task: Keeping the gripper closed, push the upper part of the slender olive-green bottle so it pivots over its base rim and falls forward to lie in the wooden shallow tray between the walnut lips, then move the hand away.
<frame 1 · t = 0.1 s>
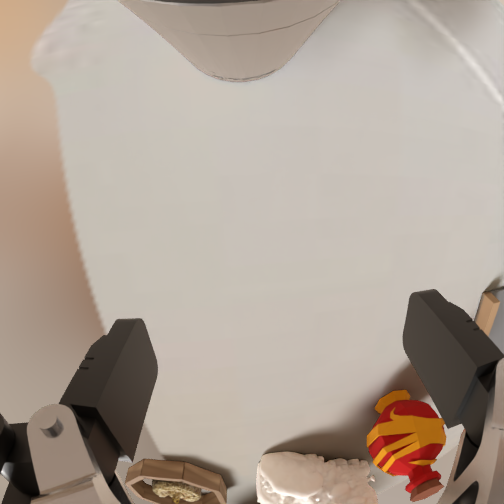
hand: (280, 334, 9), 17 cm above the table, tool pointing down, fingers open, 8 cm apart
white lumpy branched piece: (313, 465, 43), on the table
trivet: (177, 480, 45), on the table
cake: (178, 478, 46), on the table
potion bottle: (391, 401, 36), on the table
wooden shallow tray: (496, 340, 33), on the table
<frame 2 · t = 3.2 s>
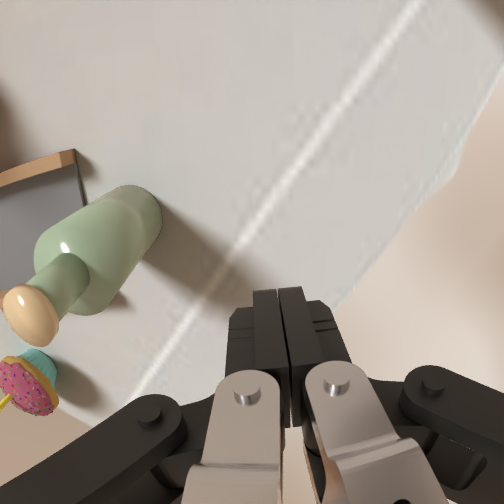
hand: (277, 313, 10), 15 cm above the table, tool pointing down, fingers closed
cupcake: (42, 362, 31), on the table
bottle: (130, 217, 24), on the table
wooden shallow tray: (19, 237, 25), on the table
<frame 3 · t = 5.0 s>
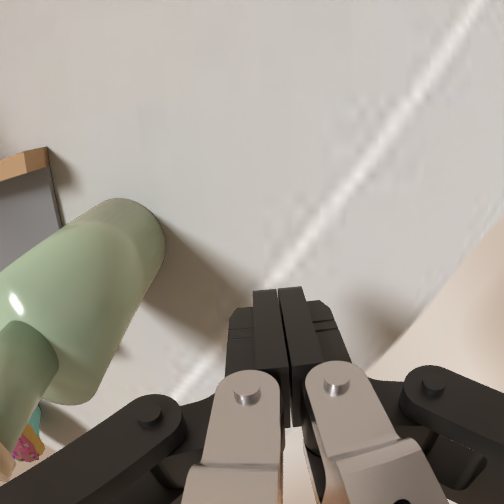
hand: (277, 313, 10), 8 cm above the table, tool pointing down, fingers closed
cupcake: (24, 400, 24), on the table
bottle: (122, 243, 18), on the table
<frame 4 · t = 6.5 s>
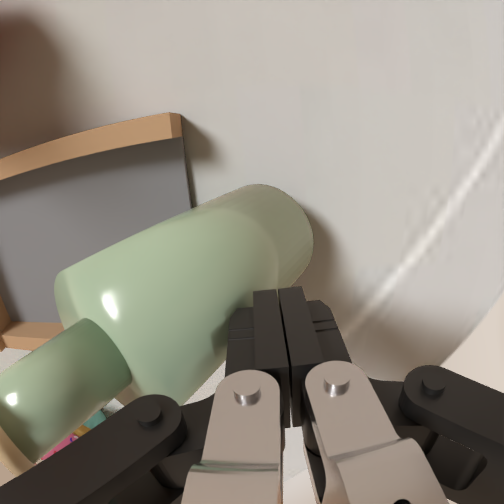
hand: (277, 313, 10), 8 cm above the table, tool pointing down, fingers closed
cupcake: (85, 409, 24), on the table
bottle: (262, 236, 16), point 1 cm above the table, tilted 30°
wooden shallow tray: (62, 248, 18), on the table
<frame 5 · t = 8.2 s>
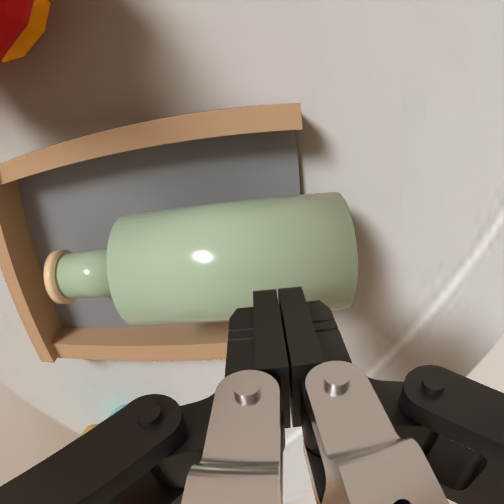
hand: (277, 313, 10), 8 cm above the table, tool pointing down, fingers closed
bottle: (340, 250, 15), point 3 cm above the table, tilted 90°, touching wooden shallow tray
potion bottle: (22, 24, 12), on the table
wooden shallow tray: (141, 244, 18), on the table
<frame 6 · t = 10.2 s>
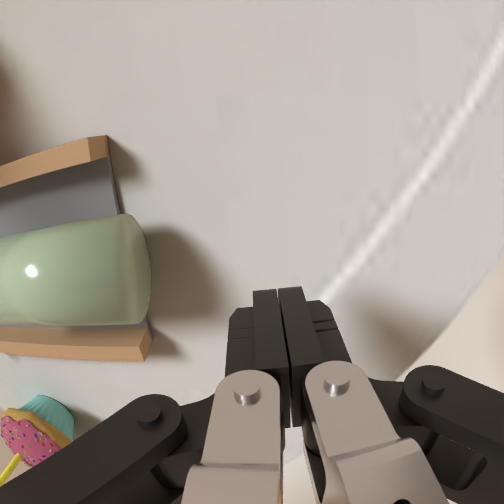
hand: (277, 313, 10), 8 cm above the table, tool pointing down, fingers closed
cupcake: (55, 409, 24), on the table
bottle: (132, 268, 15), point 3 cm above the table, tilted 90°, touching wooden shallow tray
wooden shallow tray: (20, 260, 18), on the table
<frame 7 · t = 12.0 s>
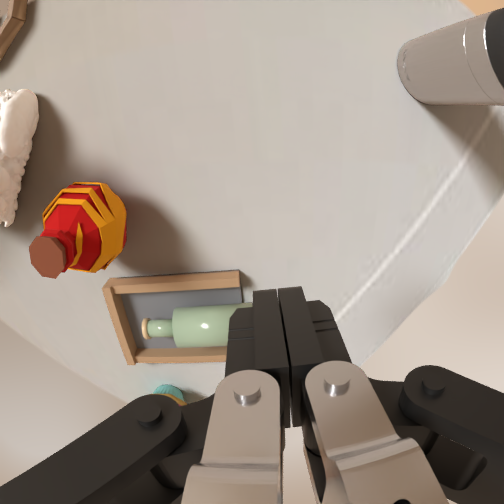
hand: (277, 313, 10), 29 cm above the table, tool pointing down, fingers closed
white lumpy branched piece: (8, 158, 34), on the table
cupcake: (170, 392, 50), on the table
bottle: (253, 323, 40), point 3 cm above the table, tilted 90°, touching wooden shallow tray
potion bottle: (108, 210, 38), on the table
wooden shallow tray: (179, 316, 43), on the table
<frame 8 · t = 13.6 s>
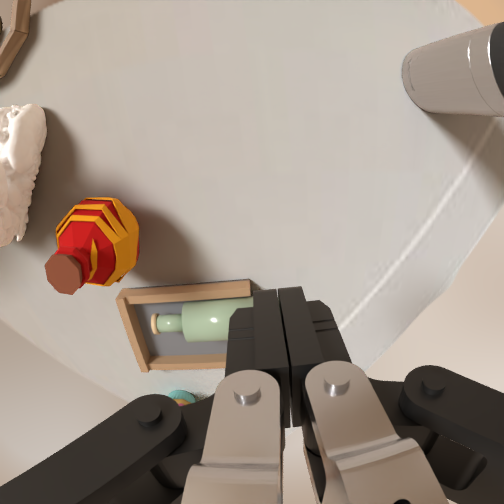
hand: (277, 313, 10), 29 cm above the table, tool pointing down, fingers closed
white lumpy branched piece: (17, 172, 36), on the table
cupcake: (182, 397, 51), on the table
bottle: (263, 316, 41), point 3 cm above the table, tilted 90°, touching wooden shallow tray
potion bottle: (119, 223, 39), on the table
wooden shallow tray: (191, 324, 45), on the table
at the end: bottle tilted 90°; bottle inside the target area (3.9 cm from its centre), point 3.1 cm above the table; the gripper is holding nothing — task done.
